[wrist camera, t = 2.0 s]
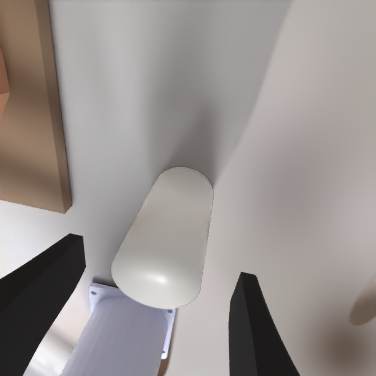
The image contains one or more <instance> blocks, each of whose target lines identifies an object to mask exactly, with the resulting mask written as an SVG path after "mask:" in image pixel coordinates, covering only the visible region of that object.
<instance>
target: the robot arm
mask: <svg viewBox="0 0 376 376" xmlns="http://www.w3.org/2000/svg"><path fill="white" fill-rule="evenodd" d="M85 268H86V262H85V252H84V243H83V236H80V235H75V234H71V233H70V234H68V235H67V236H65V237H64V238H62V239H61V240H59V241H58V242H56V243H55V244H54V245H52V246H51V247H49V248H48V249H46V250H45V251H43V252H42V253H41V254H39V255H38V256H36V257H35V258H33V259H32V260H30V261H28V262H27V263H25V264H24V265H22V266H21V267H19V268H18V269H16V270H14V271H13V272H11V273H10V274H8V275H6V276H5V277H3V278H1V279H0V376H23V374H24V372H25V370H26V368H27V366H28V364H29V363H30V361H31V359H32V357H33V355H34V353H35V351H36V350H37V348H38V346H39V344H40V343H41V341H42V339H43V338H44V336H45V334H46V333H47V331H48V330H49V328H50V327H51V325H52V324H53V322H54V321H55V319H56V318H57V316H58V314H59V313H60V311H61V310H62V308H63V307H64V305H65V304H66V302H67V301H68V299H69V298H70V296H71V294H72V293H73V291H74V290H75V288H76V286H77V284H78V282H79V280H80V278H81V276H82V274H83V272H84V270H85ZM89 299H90V309H91V317H90V319H89V321H88V322H87V324H86V326H85V328H84V330H83V332H82V334H81V336H80V338H79V340H78V342H77V344H76V346H75V348H74V350H73V352H72V354H71V356H70V358H69V360H68V362H67V364H66V365H65V367H64V369H63V371H62V373H61V375H60V376H157V374H158V370H159V365H160V361H161V359H165V358H167V354H168V349H169V343H170V338H171V333H172V328H173V323H174V318H175V313H176V308H174V309H161V308H154V307H150V306H147V305H144V304H141V303H139V302H137V301H135V300H133V299H131V298H130V297H128V296H127V295H126V294H125V293H123V292H122V291H121V290H120V289H119V288H115V287H111V286H106V285H102V284H98V283H91V284H90V286H89ZM229 366H230V376H300V375H299V373H298V371H297V369H296V367H295V365H294V364H293V362H292V360H291V358H290V356H289V354H288V352H287V350H286V348H285V346H284V344H283V342H282V340H281V337H280V335H279V333H278V331H277V329H276V326H275V324H274V322H273V319H272V317H271V315H270V312H269V310H268V307H267V305H266V302H265V299H264V297H263V294H262V291H261V288H260V286H259V282H258V280H257V277H256V276H255V275H253V274H249V273H244V272H241V274H240V276H239V279H238V282H237V285H236V288H235V290H234V293H233V295H232V298H231V301H230V312H229Z"/></svg>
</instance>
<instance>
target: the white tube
mask: <svg viewBox="0 0 376 376" xmlns="http://www.w3.org/2000/svg"><path fill="white" fill-rule="evenodd" d="M213 198H214V193H213V188H212V186H211V184H210V182H209V181H208V179H207V178H206V177H205V176H204V175H203V174H201V173H200V172H198V171H196V170H194V169H191V168H188V167H174V168H170V169H167V170H166V171H164V172H163V173H161V174H160V175H159V176H158V178H157V179H156V181H155V183H154V185H153V187H152V189H151V191H150V192H149V194H148V196H147V198H146V200H145V202H144V203H143V205H142V207H141V209H140V211H139V213H138V215H137V216H136V218H135V220H134V222H133V224H132V226H131V227H130V229H129V231H128V233H127V235H126V237H125V239H124V240H123V242H122V244H121V246H120V248H119V250H118V251H117V253H116V255H115V257H114V259H113V261H112V264H111V274H112V277H113V280H114V282H115V283H116V285H117V286H118V287H119V289H120V290H121V291H122V292H123V293H125V294H126V295H127V296H128V297H130V298H131V299H133V300H135V301H137V302H139V303H141V304H144V305H147V306H150V307H154V308H161V309H174V308H179V307H183V306H185V305H187V304H189V303H191V302H192V301H194V300H195V299H196V297H197V296H198V294H199V292H200V289H201V282H202V275H203V268H204V261H205V254H206V246H207V240H208V233H209V225H210V219H211V212H212V205H213Z"/></svg>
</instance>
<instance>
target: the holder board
mask: <svg viewBox="0 0 376 376" xmlns="http://www.w3.org/2000/svg"><path fill="white" fill-rule="evenodd" d="M0 200H4V201H8V202H13V203H18V204H22V205H27V206H31V207H36V208H40V209H45V210H49V211H54V212H59V213H63V214H65V213H66V212H67V211H68V209H69V208H70V207H71V206H72V202H71V193H70V185H69V176H68V168H67V160H66V151H65V143H64V134H63V126H62V117H61V109H60V101H59V92H58V84H57V75H56V67H55V58H54V50H53V42H52V33H51V25H50V16H49V8H48V0H0Z"/></svg>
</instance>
